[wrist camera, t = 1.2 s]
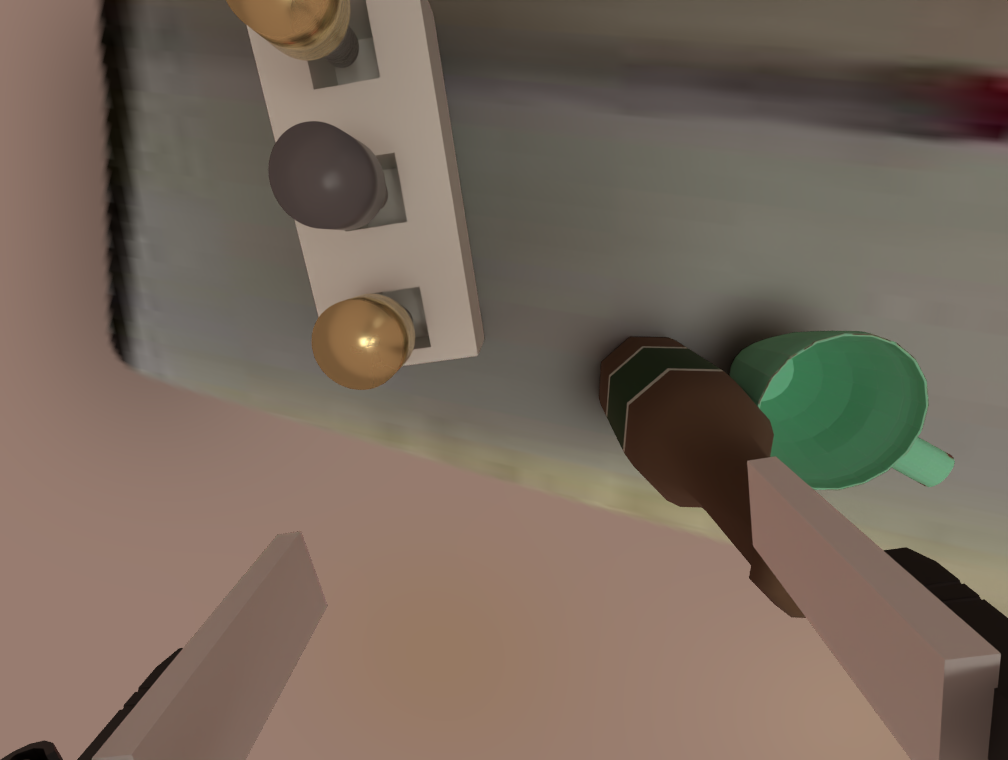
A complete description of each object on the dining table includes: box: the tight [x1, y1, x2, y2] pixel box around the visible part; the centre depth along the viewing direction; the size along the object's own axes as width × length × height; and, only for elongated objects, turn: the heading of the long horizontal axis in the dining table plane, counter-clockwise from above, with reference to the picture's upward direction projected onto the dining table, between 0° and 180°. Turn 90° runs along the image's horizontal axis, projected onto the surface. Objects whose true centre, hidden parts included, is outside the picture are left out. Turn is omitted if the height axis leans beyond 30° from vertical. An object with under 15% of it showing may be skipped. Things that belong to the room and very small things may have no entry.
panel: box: [247, 0, 485, 366], centre depth 33 cm, size 22×10×6 cm, turn 8°
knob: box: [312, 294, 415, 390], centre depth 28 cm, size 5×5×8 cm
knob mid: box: [269, 121, 388, 230], centre depth 26 cm, size 5×5×8 cm
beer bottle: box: [599, 337, 806, 618], centre depth 27 cm, size 8×8×24 cm
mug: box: [729, 331, 955, 490], centre depth 34 cm, size 15×10×10 cm
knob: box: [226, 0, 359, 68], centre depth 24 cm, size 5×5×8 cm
